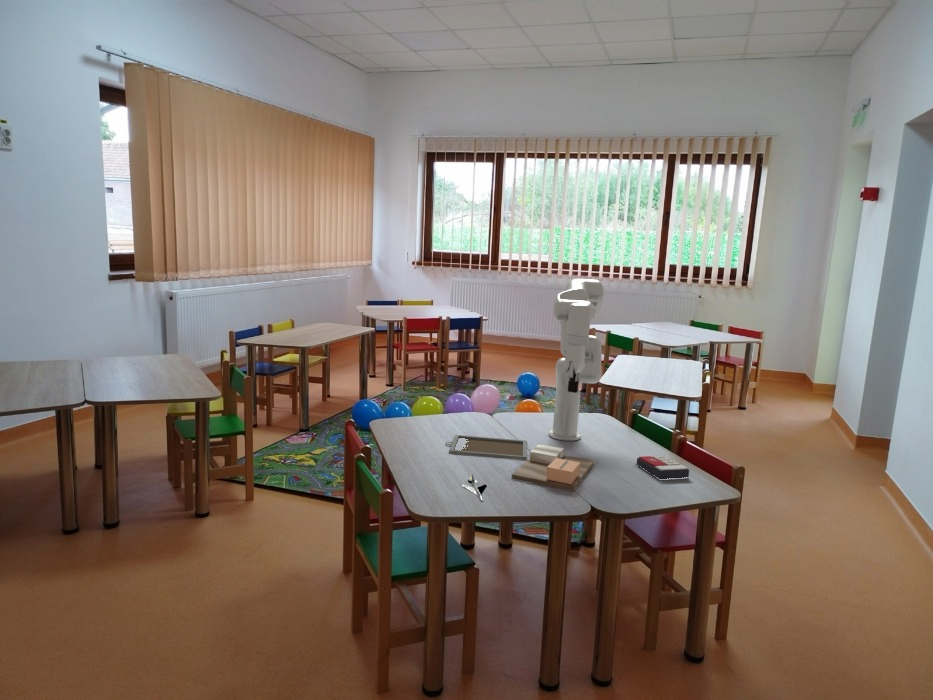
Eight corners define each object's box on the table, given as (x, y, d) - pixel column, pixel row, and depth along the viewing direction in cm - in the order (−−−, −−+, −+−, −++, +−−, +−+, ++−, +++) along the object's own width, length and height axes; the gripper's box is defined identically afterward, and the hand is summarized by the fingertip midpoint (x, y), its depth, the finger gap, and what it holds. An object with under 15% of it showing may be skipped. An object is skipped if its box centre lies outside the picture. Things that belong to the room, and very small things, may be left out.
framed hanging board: (527, 457, 218) (441, 449, 221) (526, 461, 218) (441, 454, 221) (527, 440, 237) (448, 434, 240) (526, 444, 237) (448, 438, 240)
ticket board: (538, 454, 225) (539, 442, 224) (594, 464, 217) (595, 452, 216) (511, 478, 200) (512, 465, 199) (573, 491, 192) (574, 477, 191)
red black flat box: (664, 454, 222) (690, 467, 208) (663, 466, 223) (689, 479, 209) (636, 455, 219) (660, 468, 205) (635, 467, 220) (659, 481, 206)
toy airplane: (468, 503, 180) (469, 495, 179) (457, 476, 200) (458, 469, 200) (495, 503, 181) (495, 495, 181) (481, 476, 201) (481, 469, 201)
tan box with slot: (555, 469, 205) (556, 457, 204) (579, 474, 202) (580, 462, 201) (546, 479, 196) (547, 466, 195) (571, 484, 193) (572, 471, 192)
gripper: (572, 335, 222) (567, 385, 226) (560, 341, 209) (556, 394, 212) (593, 338, 219) (588, 388, 223) (582, 344, 206) (578, 398, 210)
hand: (572, 391), depth 218 cm, fingers closed
